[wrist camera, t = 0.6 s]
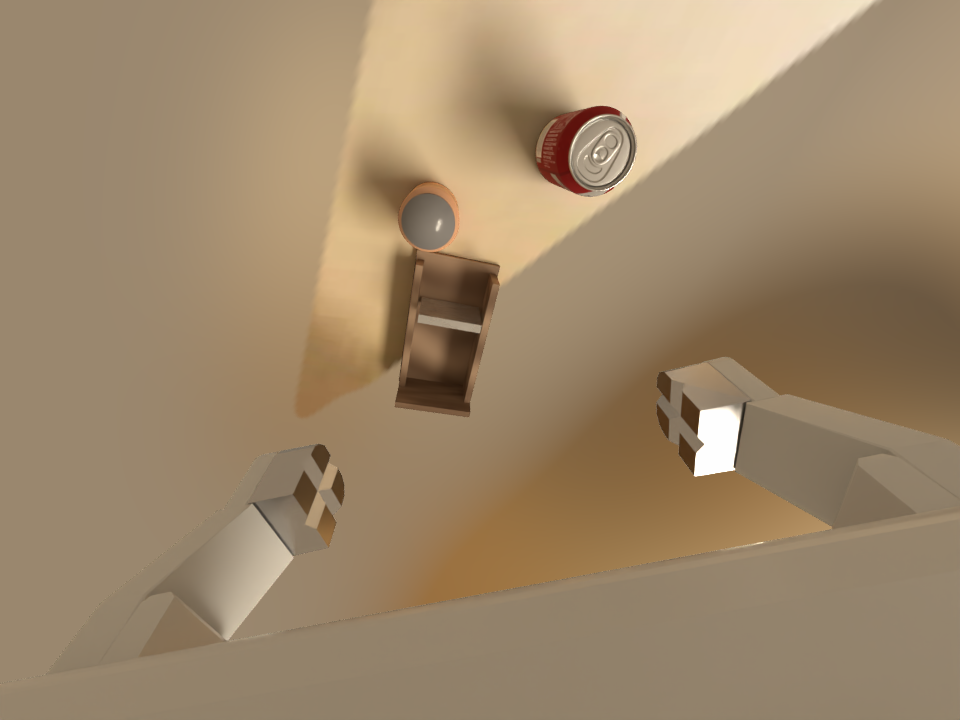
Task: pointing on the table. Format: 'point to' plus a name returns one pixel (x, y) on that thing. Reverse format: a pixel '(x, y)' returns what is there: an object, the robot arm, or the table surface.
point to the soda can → (587, 150)
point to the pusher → (449, 315)
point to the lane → (445, 335)
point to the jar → (429, 217)
